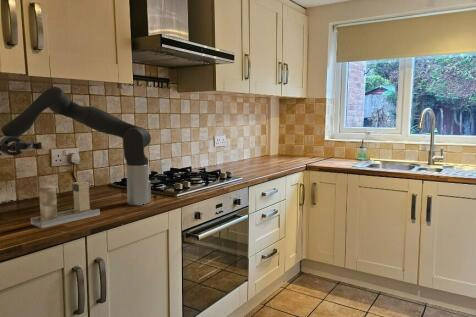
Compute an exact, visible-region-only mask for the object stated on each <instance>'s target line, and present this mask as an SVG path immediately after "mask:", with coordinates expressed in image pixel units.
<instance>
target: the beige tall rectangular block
mask: <svg viewBox="0 0 476 317" xmlns="http://www.w3.org/2000/svg"><path fill="white" fill-rule="evenodd" d="M38 194H39V196H38V197H39V209H40V210H39V212H40V215H39V216H41V221H44V220H49V219H54V218H57V213H58V203H57V202H58V200H57V196H58V188H57V187H56V186H55V185H44V186H39V187H38Z"/></svg>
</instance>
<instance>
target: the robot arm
mask: <svg viewBox="0 0 476 317" xmlns="http://www.w3.org/2000/svg"><path fill="white" fill-rule="evenodd" d="M46 109H49V110H50V111H51V112H52V113H55V114H58V115H61V116H63V117H66V118H70V119H72V120H74V121H76V122H78V123H80V124H82V125H84V126H86V127H88V128H90V129H92V130H94V131H97V132H99V133H103V134H106V135H110V136H116V137H118V138H121V139H122V143H123V144H122V146H123V156H124V159H125V163H126V164H125V165H126V192H127V197H126V198H127V205H129V206H143V204H144V205H147V203H148V204H149V203H152V190H151V188H152V186H151V185H152V184H151V183H152V182H151V180H150V178H149V174H150V172H149V158H148V157H147V156H146V154H145V148H146V147H147V146H149V145H150V143H151V141H152V137H151V134H150V132H149V131H148V130H147V129H146V128H144V127H141V126H138V125H135V124H132V123H130V122H126V121H124V120H122V119H121V118H119V117H117V116H115V115H113V114H110V113H108V112H106V111H104V110H102V109H100V108H98V107H95V106H88V105H87V106H85V105H80V104H78V103H76V102H74V101H72V100H71V99H70V98H68V96H67V94H66V93H65V92H64V91H63V89H61V88H60V86H59V87H58V86H51V87H49V88H47V89H46V90H44V91H43V92H42V93H41V94H40V95H39V96H38V97H37V98H36V99H35V100H33V101H32V103H31V104H30V105H28V107H26V108H25V109H24V111H22V112H21V113H20V114H18V115H17V116H16V117H15V118H13V119H11V120H10V121H8V122H7V123H6V124H4V125H3V126H2V127H1V128H0V130H1V131H0V132H2V134H3V136H2V135H0V156H2V155H6V156H12V157H15V156H19V155H21V154H22V153H23V152H25V151H33V150H42V149H43V147H42V146H43V144H42V142H41V141H39V142H38V141H37V142H36V141H24V140H23V139H22V138H20V136H23V134H24V133H26V132H28V131H29V130H30V129H31V128H32V126H33V125H34V123H35V122H36V120H37V118H38V117H39V115H40V114H42V112H44V111H45V110H46Z"/></svg>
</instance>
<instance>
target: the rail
mask: <svg viewBox="0 0 476 317" xmlns="http://www.w3.org/2000/svg"><path fill="white" fill-rule="evenodd" d="M71 185H72V191H73V192H72V193H73V209H68V210H63V211H59V212H58V211H57V218H54V219H49V220H44V221H41V215H39V216H35V217H34V216H33V217H30V225H33V226H35V227H38V228H40V229H44V228H49V227H53V226H57V225H62V224H67V223H71V222H75V221H80V220H84V219H88V218H92V217H97V216H100V215H101V209H100V208H95V209H91V206H90V186H89V181H84V180H81V181H75V182H72V184H71Z"/></svg>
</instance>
